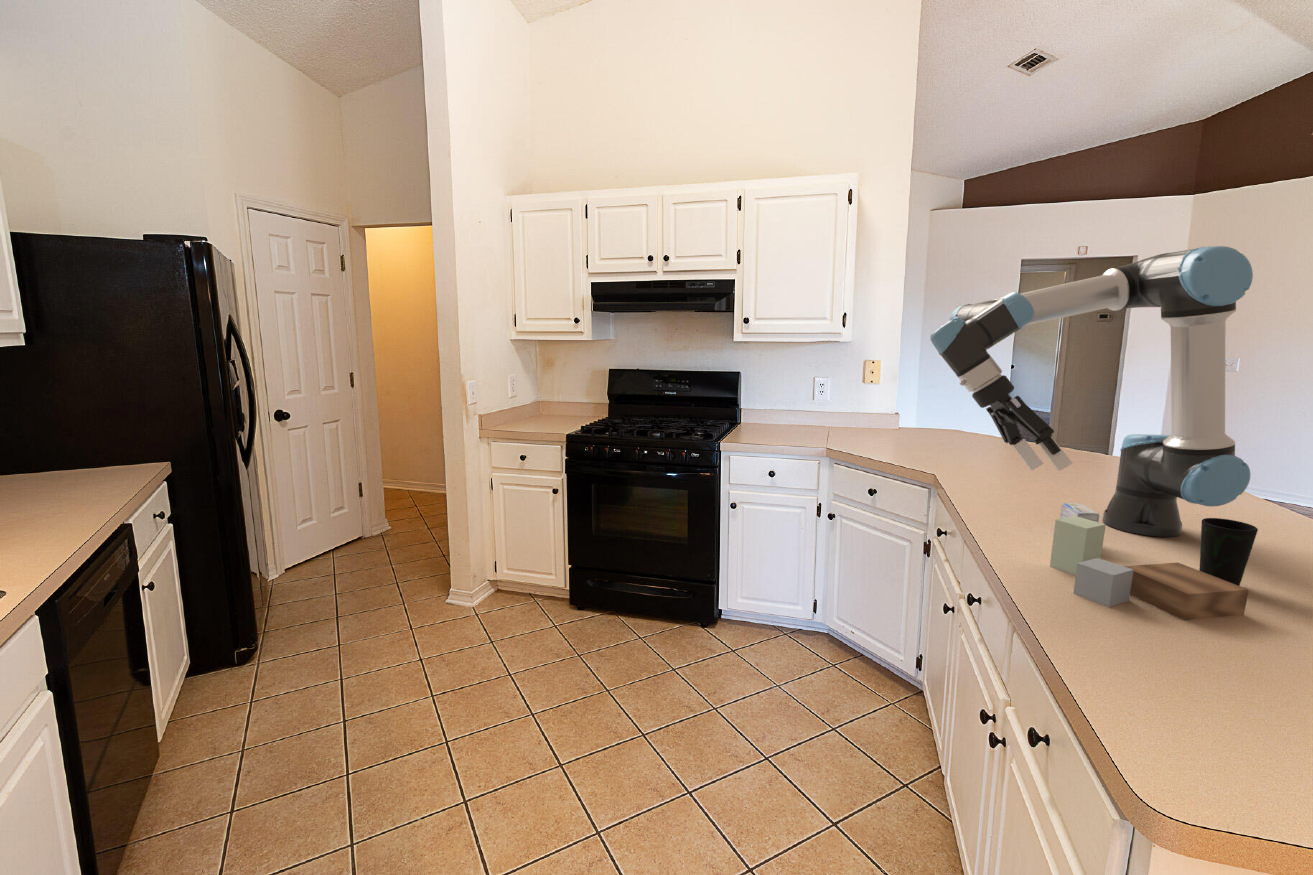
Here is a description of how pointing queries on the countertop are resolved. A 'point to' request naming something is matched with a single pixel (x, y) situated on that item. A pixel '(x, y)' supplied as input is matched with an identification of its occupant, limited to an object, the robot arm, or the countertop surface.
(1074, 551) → the sage block
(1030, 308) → the robot arm
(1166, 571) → the walnut block
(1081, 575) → the grey block
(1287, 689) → the countertop surface
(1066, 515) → the medicine box
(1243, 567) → the cup
